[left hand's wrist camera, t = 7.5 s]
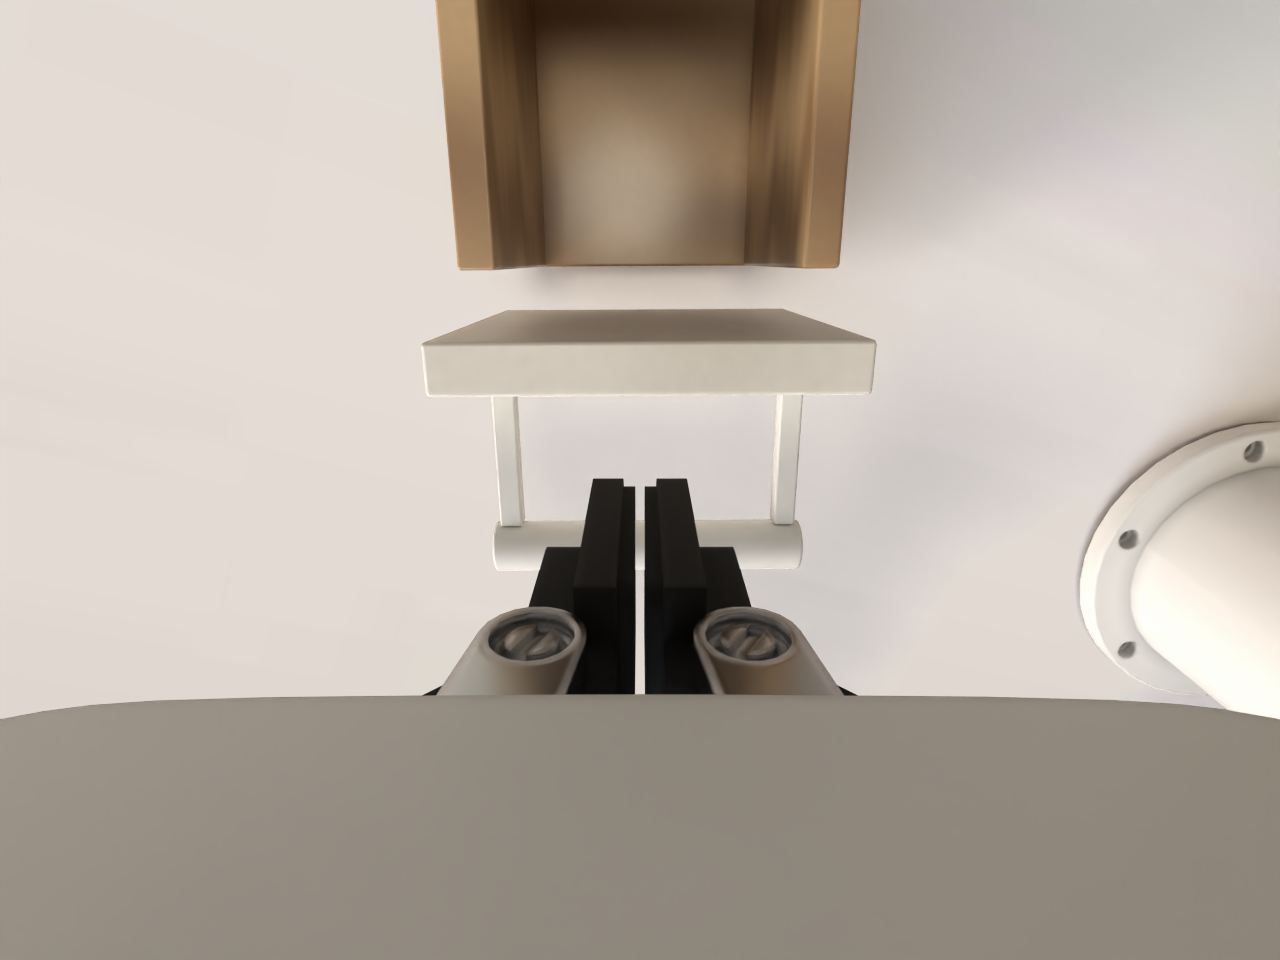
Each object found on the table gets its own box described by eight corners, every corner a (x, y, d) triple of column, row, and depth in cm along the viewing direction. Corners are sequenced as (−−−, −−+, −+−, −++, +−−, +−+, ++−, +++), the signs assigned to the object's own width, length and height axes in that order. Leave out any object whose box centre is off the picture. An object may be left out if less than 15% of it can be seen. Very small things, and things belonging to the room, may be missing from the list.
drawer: (773, 494, 26) (849, 625, 17) (516, 495, 26) (449, 627, 17) (813, -178, 20) (971, -574, 10) (472, -177, 20) (323, -572, 10)
